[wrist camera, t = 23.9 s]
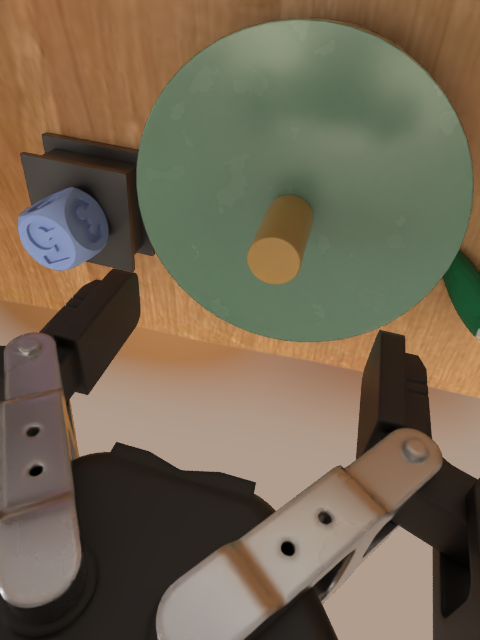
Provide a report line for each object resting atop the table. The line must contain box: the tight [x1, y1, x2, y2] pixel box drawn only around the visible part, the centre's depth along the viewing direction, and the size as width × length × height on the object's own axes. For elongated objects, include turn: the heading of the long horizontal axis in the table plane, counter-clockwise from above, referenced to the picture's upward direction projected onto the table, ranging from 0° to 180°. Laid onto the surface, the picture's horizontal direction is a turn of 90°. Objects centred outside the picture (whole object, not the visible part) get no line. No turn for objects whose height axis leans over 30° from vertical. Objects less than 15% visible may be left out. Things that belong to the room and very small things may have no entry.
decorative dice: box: [18, 187, 109, 271], centre depth 29 cm, size 4×4×4 cm
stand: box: [20, 133, 155, 272], centre depth 32 cm, size 8×8×4 cm
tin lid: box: [137, 18, 474, 342], centre depth 24 cm, size 18×18×6 cm
